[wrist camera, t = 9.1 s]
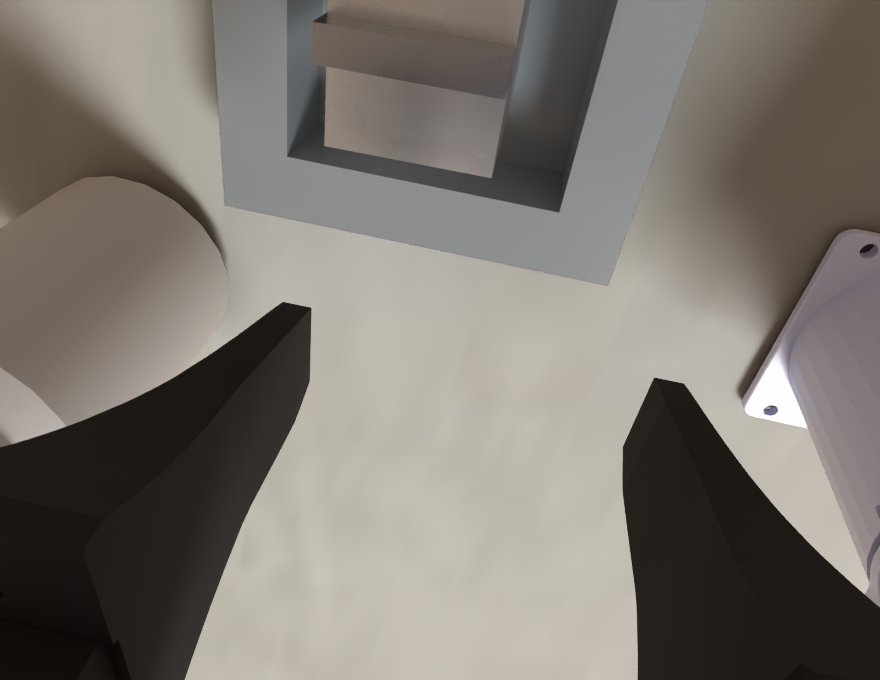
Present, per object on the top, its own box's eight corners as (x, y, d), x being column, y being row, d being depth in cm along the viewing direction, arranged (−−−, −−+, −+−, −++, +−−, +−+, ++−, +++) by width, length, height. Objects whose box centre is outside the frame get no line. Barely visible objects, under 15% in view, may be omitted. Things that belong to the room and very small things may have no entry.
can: (33, 156, 25) (-311, 347, 15) (223, 176, 24) (-13, 392, 14) (88, 320, 29) (-149, 547, 20) (251, 342, 28) (85, 590, 19)
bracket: (549, -94, 17) (536, -68, 11) (512, 101, 20) (486, 196, 15) (398, -119, 17) (313, -107, 12) (384, 77, 20) (310, 161, 15)
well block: (754, -223, 15) (794, -240, 13) (604, 233, 23) (607, 286, 20) (257, -307, 16) (189, -341, 13) (266, 163, 23) (224, 205, 20)
